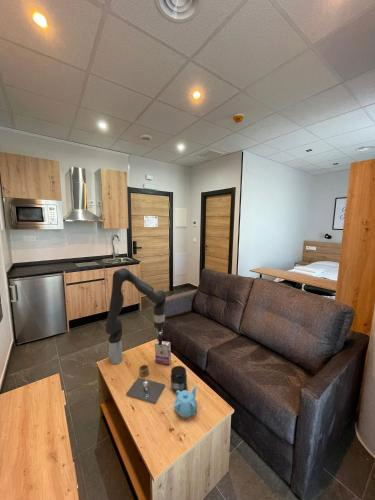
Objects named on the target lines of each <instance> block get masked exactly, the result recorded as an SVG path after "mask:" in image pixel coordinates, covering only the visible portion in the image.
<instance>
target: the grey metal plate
mask: <svg viewBox="0 0 375 500" xmlns="http://www.w3.org/2000/svg"><path fill="white" fill-rule="evenodd" d="M165 387H166V384H165V383H162V382H157V381H153V380H149V379H145V378H144V377H140V376H139V377H137V379H136V380H135V381H134V382H133V384H132V385H131V386H130V388H129V389H128V390H127V391H126V393H125V395H126V397H130V398H134V399H136V400H140V401H145V402H147V403H151V404H154V405H156V403H157V401H158V400H159V398H160V396H161V394H162V393H163V391H164V389H165Z"/></svg>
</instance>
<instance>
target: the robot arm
mask: <svg viewBox="0 0 375 500" xmlns="http://www.w3.org/2000/svg"><path fill="white" fill-rule="evenodd" d="M124 282H129V283H130V284H132V285H133V286H134V287H135V289H136V290H137V291H138V292H140V293H141V294H143V295H144V296H146V297H147V298H148V299H149V301H151V302H152V303H154V304H155V305H154V307H153V327H154V328H155V330H156V334H157V335H156V336H157V339H158V341H159V345H162V341H163V332H164V331H163V330H164V329H163V328H164V327H165V326H166V322H165V321H166V316H165V305H166V299H167V298H166V297H167V296H166V295H167V294H166V293H165V291H164V290H161V289H160V290H158V291H156V292H155V291H154V290H155V289H154V287H153V286H152V285H149V284H148V283H146V282H144V281H143V280H142V279H140V278H138V277H137V276H136V275H135V274H134V273H133V272H131V271H130V270H129V269H128V268H124V267H123V268H120V269H117V270H115V271H114V272H113V275H112V285H111V287H112V288H111V295H110V300H109V307H108V313H107V318H106V322H105V328H104V329H105V333H106V334H107V335H109V336H108V348H109V349H108V362H109V363H110V364H112V365H118V364H120V363H122V361H123V358H124V357H123V343H122V336H123V324H122V321H121V319H120V318H118V317H119V315H120V313H121V311H122V309H123V307H124V303H125V302H124V301H125V297H124V295H123V292H122V287H123V283H124Z"/></svg>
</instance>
